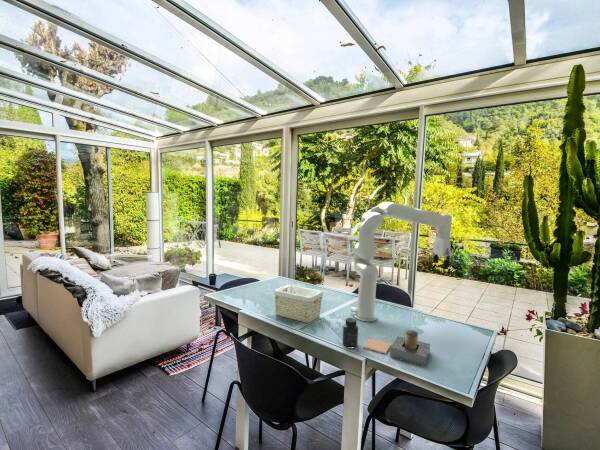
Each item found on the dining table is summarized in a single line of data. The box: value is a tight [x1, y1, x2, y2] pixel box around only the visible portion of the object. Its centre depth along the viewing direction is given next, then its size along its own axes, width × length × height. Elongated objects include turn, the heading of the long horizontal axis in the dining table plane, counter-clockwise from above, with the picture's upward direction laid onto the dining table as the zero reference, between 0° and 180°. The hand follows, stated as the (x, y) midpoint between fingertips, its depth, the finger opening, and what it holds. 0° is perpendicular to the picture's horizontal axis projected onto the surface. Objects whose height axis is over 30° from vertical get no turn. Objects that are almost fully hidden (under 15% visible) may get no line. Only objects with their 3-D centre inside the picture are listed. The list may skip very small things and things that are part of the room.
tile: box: [362, 338, 392, 355], centre depth 140 cm, size 10×10×1 cm
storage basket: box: [273, 283, 324, 323], centre depth 174 cm, size 24×16×15 cm
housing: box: [389, 335, 431, 367], centre depth 134 cm, size 14×14×4 cm
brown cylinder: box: [404, 329, 419, 350], centre depth 134 cm, size 5×5×10 cm
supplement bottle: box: [341, 317, 359, 348], centre depth 140 cm, size 7×7×12 cm
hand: (440, 264), depth 181 cm, fingers open, 9 cm apart
